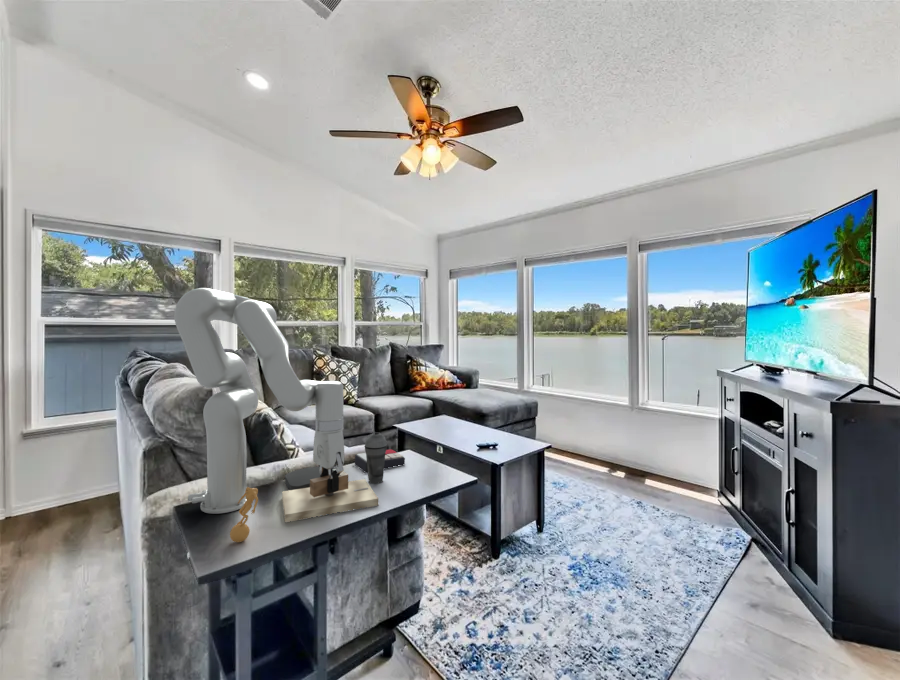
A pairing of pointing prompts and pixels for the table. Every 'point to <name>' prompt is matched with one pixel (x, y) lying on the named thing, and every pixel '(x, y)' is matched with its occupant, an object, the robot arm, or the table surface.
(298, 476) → the media streaming box
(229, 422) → the robot arm
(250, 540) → the table surface
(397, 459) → the calculator
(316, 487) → the brown wooden block
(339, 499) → the base
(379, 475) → the beverage cup
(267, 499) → the table surface
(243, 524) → the figurine
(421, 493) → the table surface
